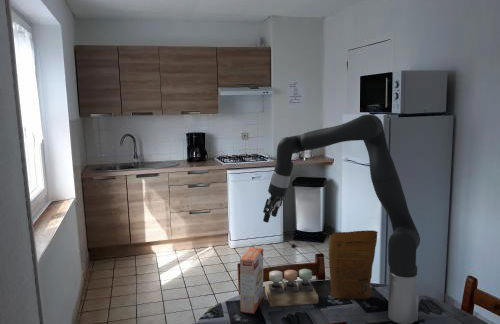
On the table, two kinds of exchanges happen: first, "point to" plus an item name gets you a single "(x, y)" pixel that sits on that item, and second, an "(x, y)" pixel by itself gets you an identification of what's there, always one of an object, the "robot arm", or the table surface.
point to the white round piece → (276, 277)
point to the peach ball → (290, 276)
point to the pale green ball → (305, 275)
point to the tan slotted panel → (291, 294)
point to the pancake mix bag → (351, 263)
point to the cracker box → (251, 280)
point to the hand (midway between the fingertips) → (269, 218)
